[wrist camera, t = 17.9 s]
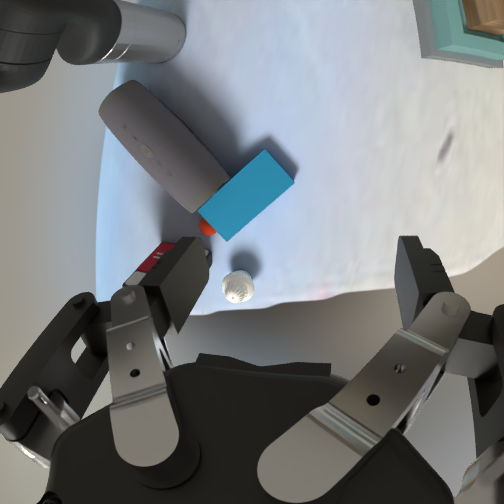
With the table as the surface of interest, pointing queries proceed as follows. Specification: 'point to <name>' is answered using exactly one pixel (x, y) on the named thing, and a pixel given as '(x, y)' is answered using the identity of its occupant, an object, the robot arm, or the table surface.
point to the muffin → (238, 286)
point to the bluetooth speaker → (162, 145)
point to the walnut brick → (484, 15)
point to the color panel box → (151, 260)
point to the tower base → (431, 42)
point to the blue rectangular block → (244, 196)
